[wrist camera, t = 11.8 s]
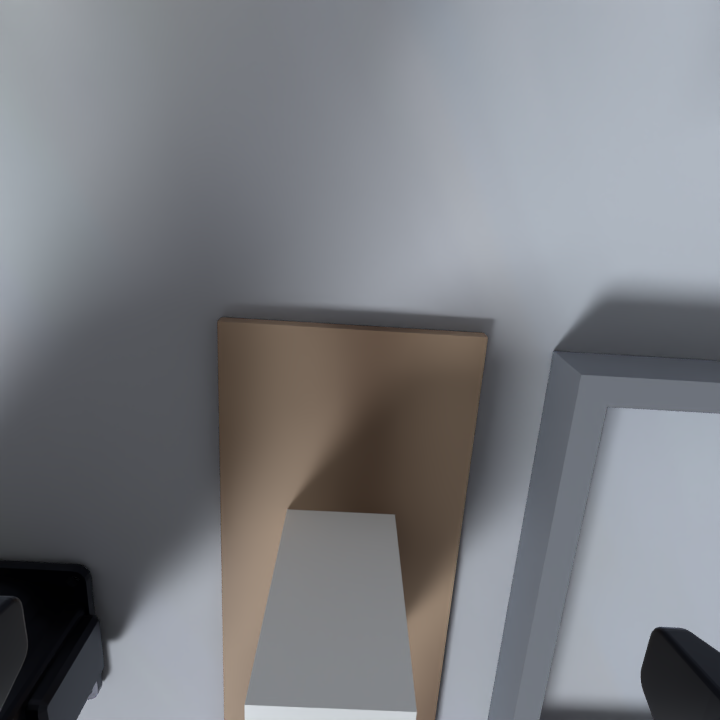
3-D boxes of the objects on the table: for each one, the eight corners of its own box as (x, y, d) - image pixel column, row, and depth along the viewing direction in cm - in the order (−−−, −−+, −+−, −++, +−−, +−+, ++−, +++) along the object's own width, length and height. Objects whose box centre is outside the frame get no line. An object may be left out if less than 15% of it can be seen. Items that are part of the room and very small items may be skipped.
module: (283, 638, 22) (244, 876, 15) (285, 509, 20) (242, 705, 13) (384, 642, 22) (398, 882, 15) (396, 514, 20) (418, 712, 13)
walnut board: (228, 748, 25) (225, 761, 24) (221, 317, 19) (217, 321, 18) (426, 756, 25) (427, 769, 24) (484, 332, 19) (487, 337, 18)
